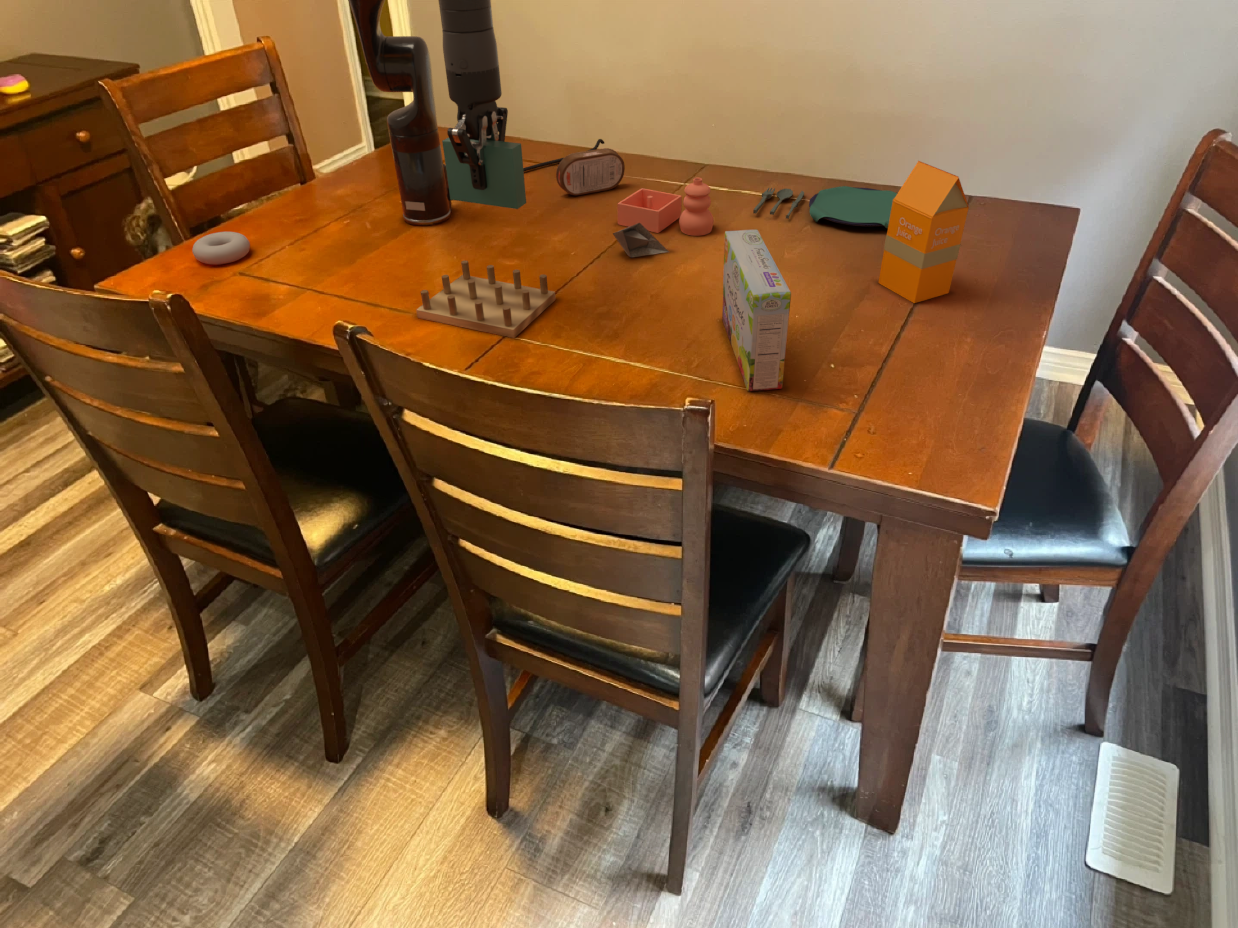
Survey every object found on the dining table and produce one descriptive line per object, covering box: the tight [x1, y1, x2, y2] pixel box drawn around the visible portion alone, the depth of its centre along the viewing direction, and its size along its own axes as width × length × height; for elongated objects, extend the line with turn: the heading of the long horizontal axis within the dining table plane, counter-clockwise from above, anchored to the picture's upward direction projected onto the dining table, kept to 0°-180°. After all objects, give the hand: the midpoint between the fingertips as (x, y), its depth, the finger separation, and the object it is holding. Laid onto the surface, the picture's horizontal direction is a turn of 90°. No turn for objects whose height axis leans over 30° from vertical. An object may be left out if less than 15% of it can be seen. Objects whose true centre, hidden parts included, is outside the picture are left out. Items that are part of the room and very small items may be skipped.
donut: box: [191, 231, 251, 266], centre depth 158 cm, size 10×3×10 cm
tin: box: [555, 147, 626, 196], centre depth 180 cm, size 15×3×8 cm, turn 115°
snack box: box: [721, 228, 792, 392], centre depth 123 cm, size 21×6×15 cm, turn 5°
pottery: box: [616, 177, 714, 237], centre depth 164 cm, size 18×10×10 cm, turn 59°
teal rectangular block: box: [441, 137, 527, 210], centre depth 130 cm, size 3×12×9 cm, turn 67°
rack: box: [415, 259, 556, 339], centre depth 139 cm, size 14×18×4 cm
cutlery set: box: [752, 185, 898, 229], centre depth 170 cm, size 20×30×2 cm, turn 69°
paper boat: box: [612, 223, 670, 258], centre depth 154 cm, size 12×6×9 cm
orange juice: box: [877, 160, 970, 304], centre depth 137 cm, size 8×9×20 cm
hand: (485, 184), depth 131 cm, fingers closed on teal rectangular block, 3 cm apart
